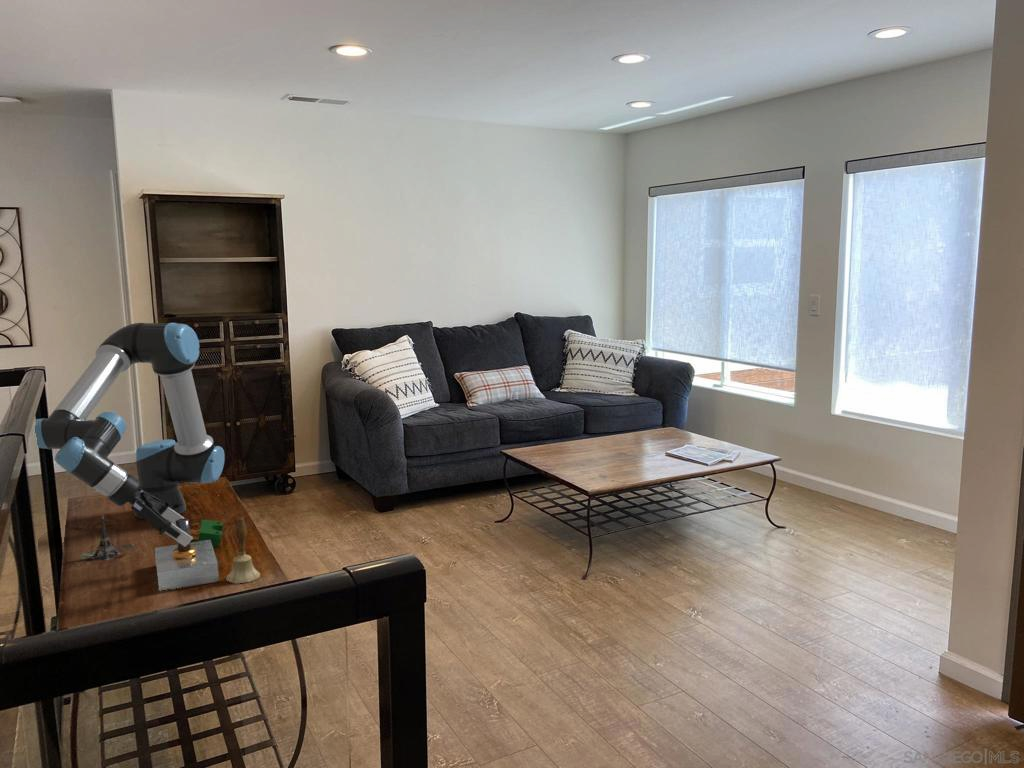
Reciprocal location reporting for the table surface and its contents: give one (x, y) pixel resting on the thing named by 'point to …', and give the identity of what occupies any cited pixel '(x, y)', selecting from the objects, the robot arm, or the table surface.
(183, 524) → the pin
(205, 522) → the clamp
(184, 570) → the hole block
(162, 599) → the table surface
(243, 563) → the hand bell
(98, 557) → the eiffel tower figurine
